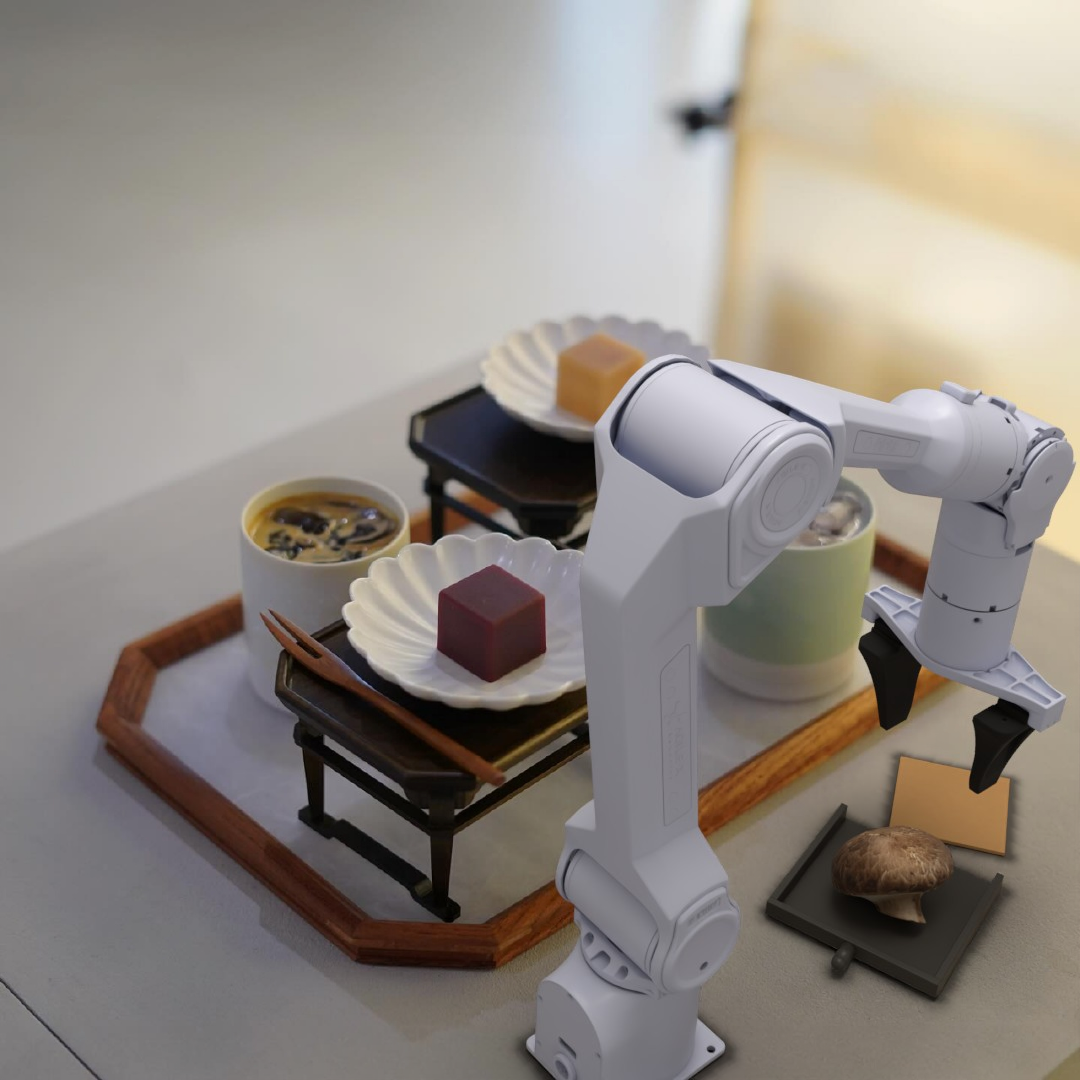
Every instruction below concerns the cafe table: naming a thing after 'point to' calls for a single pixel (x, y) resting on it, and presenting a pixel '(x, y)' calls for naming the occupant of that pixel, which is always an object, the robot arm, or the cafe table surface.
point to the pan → (881, 915)
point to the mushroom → (892, 869)
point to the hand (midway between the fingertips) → (936, 753)
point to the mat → (950, 806)
